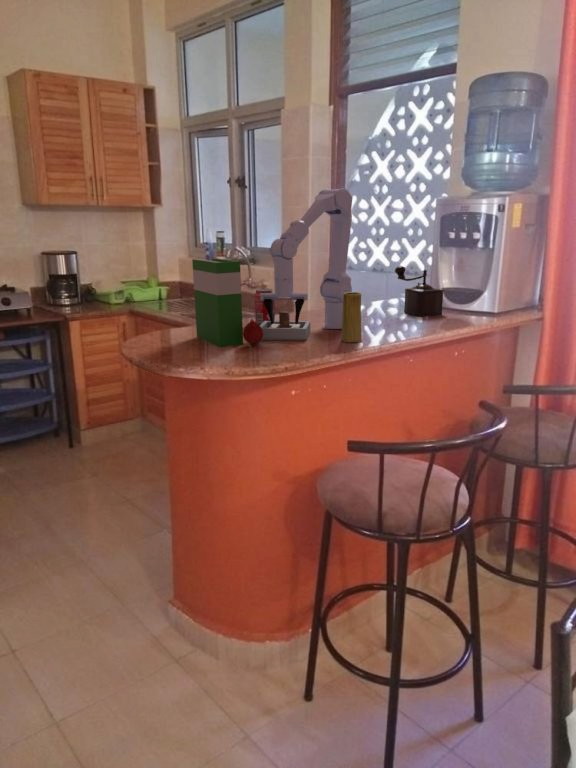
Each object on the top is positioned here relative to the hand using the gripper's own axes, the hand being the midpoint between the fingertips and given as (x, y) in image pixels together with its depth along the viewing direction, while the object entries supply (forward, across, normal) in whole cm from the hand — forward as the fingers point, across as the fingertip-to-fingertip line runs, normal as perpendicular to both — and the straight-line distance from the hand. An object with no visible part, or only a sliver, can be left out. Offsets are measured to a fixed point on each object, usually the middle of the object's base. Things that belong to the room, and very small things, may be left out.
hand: (284, 323), depth 176 cm
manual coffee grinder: (+4, +44, +44) cm, 62 cm away
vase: (+4, +21, -6) cm, 22 cm away
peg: (+3, 0, 0) cm, 4 cm away
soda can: (+4, -10, +21) cm, 24 cm away
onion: (+4, -7, -15) cm, 17 cm away
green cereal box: (+4, -19, -8) cm, 21 cm away
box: (+4, 0, 0) cm, 4 cm away
